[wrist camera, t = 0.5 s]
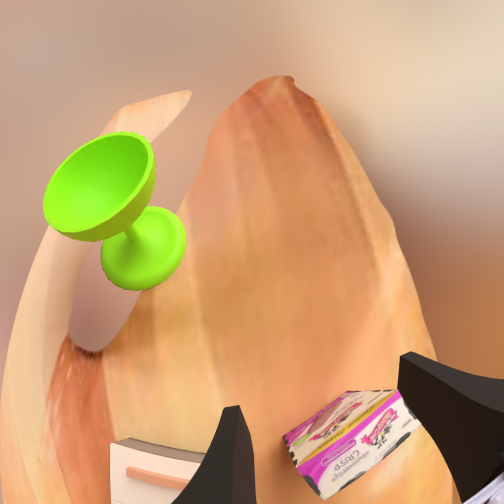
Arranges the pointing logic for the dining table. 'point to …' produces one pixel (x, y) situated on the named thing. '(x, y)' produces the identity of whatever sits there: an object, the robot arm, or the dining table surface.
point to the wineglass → (116, 209)
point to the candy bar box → (349, 438)
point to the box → (162, 450)
